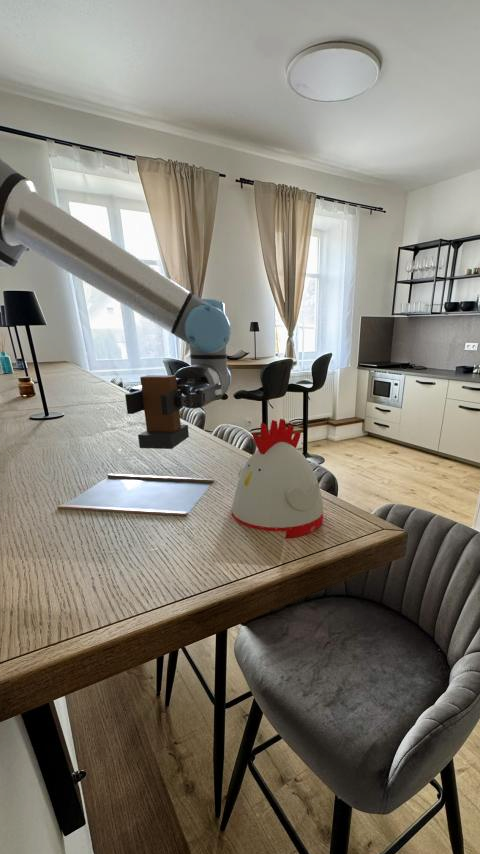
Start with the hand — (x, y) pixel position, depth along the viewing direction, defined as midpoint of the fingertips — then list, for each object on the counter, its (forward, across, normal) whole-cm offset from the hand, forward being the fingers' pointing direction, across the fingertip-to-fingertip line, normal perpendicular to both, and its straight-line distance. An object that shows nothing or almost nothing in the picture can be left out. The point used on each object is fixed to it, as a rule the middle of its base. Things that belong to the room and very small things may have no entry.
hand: (146, 404), depth 57 cm
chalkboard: (-5, +5, -17) cm, 18 cm away
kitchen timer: (-1, -18, -17) cm, 25 cm away
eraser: (-5, 0, -7) cm, 8 cm away
